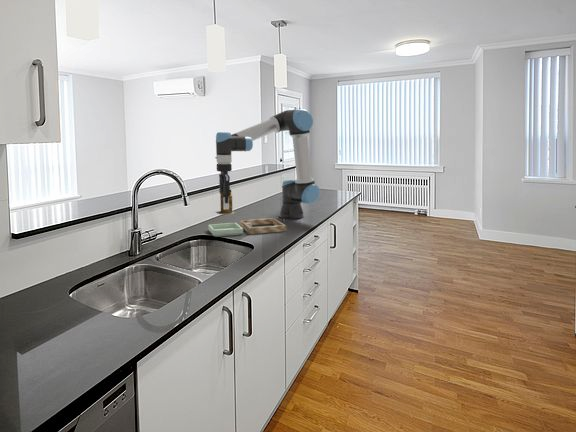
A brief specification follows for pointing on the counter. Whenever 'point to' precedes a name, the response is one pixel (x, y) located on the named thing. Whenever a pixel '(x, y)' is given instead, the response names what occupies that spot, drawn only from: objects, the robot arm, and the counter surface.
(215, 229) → the green tray
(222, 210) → the condiment
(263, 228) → the brown wooden tray
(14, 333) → the counter surface
